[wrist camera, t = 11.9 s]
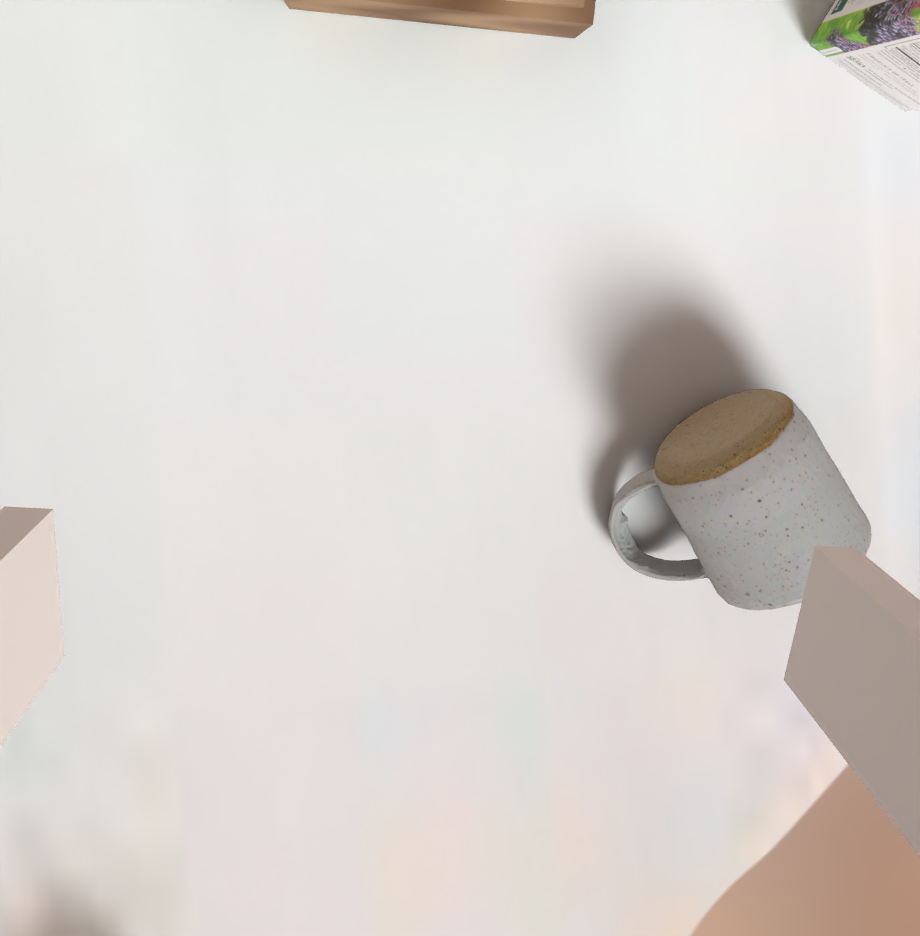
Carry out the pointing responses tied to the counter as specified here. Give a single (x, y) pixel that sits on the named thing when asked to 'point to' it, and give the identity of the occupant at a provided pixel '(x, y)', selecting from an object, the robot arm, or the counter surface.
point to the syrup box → (876, 45)
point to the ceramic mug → (746, 500)
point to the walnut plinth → (471, 13)
